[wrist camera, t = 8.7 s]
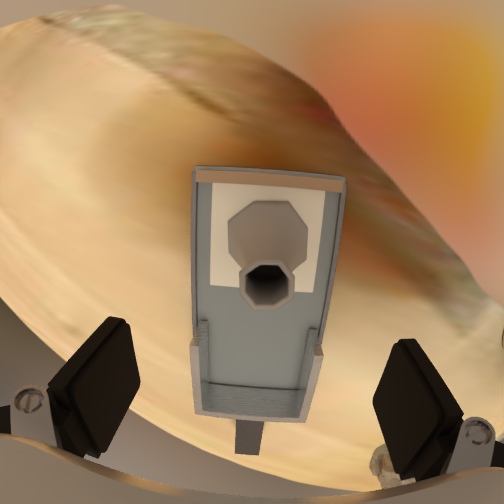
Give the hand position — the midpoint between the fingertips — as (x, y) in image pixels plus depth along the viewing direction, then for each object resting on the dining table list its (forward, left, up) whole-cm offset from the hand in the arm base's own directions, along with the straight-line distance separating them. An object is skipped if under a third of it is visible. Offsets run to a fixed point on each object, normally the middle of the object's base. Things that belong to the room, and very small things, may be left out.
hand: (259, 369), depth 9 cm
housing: (0, +18, -17) cm, 24 cm away
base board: (0, +7, -18) cm, 19 cm away
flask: (0, 0, -17) cm, 17 cm away
